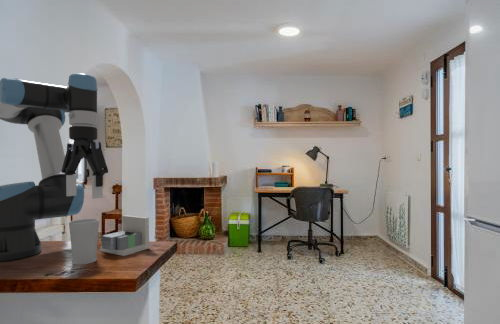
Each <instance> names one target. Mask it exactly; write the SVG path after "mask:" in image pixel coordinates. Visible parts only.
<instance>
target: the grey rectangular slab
mask: <svg viewBox="0 0 500 324" xmlns="http://www.w3.org/2000/svg"><path fill="white" fill-rule="evenodd" d="M116 232H117V233H115V232H112V233H113V234H111V233H107V234H108V235H106V234H103V235H104V236H103V235H101V246H102V248H103V249H108V250H114V249H117V237H121V236H125V235H133V234H134V232H132V231H122V230H121V232H120V231H116Z"/></svg>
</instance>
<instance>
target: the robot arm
mask: <svg viewBox="0 0 500 324" xmlns="http://www.w3.org/2000/svg"><path fill="white" fill-rule="evenodd" d="M67 85H68V86H64V85H56V84H50V83H42V82H36V81H29V80H24V79H19V78H15V77H14V78H11V77H3V78H1V79H0V120H1V121H3V122H6V123H10V124H18V125H27V128H28V129H29V131H30V132H31V133H33V136H34V141H35V147H36V151H37V152H36V153H37V156H38V163H39V169H40V173H41V179H40V181H39V182H38V184H37V185H36V183H35V182H34V181H23V182H22V181H21V182H15V183H8V184H2V185H0V262H5V261H6V262H7V261H13V260H21V259H24V258H29V257H31V256H34V255H37V254H39V253H41V252H42V242H41V240H40V237H39V235H38V233H37V231H36V220H46V219H53V218H63V217H65V218H66V217H69V216H76V215H78V214H79V213H80V212H81V211H82V209H83V206H84V202H85V200H84V199H85V187H84V185H83V184H82V183H81V182H77V172H76V171H77V169H78V167H79V165H80V164H81V163H80V162H81V161H82V160H83V159H85V160H86V161H87V163H88V165H89V167H90V169H91V171H92V174H91V182H92V183H91V187H92V188H91V191H92V197H91V198H92V199H102V198H103V196H104V195H103V194H104V193H103V190H104V189H103V187H104V175H105V174H108V173H109V168H108V166H107V163H106V160H105V156H104V154H103V153H104V152H103V149H102V143H101V141H96V140H98V128H97V126H98V81H97V78H96V77H94V76H93V75H91V74H87V73H72V74H70V75H69V76H68V82H67ZM66 113H68V115H67V116H68V120H69V121H68V124H69V125H70V126H69V128H68V138H69V140H72V141H73V143H71V142H70V143H69V142H68V143H67V144H66V152H65V151H64V147H63V142H62V137H61V133H60V130H61V129H62V127H63V126H64V125H65V123H66Z"/></svg>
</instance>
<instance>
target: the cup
mask: <svg viewBox="0 0 500 324" xmlns="http://www.w3.org/2000/svg"><path fill="white" fill-rule="evenodd" d="M99 225H100V219H99V218H84V219H75V220H71V221H70V220H69V222H68V227H69V235H70V236H69V239H70V246H71V247H70V248H71V257H72V264H73V265H75V266H76V265H80V266H81V265H87V264H91V263H94V262H96V261H97V255H98V253H97V252H98V238H99V237H98V236H99Z"/></svg>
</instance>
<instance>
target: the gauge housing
mask: <svg viewBox="0 0 500 324" xmlns="http://www.w3.org/2000/svg"><path fill="white" fill-rule="evenodd" d="M121 220H122V221H121V222H122V223H121V225H122V226H121V227H122V229H121V231H132V232H134V234H133V235H125V236H121V237H117V249H114V250H108V249H103V248H102V245H101V246H100V252H102V253H107V254H113V255H118V256H122V257H125V256H128V255H132V254H135V253H138V252H141V251H145V250H147V249H150V223H149V222H150V221H149V220H150V218H149V217H147V216H146V217H145V216H136V215H127V214H124V215H122V216H121ZM121 231H119V232H121ZM117 232H118V231H116V232H112V233H110V234H113V233H117ZM108 234H109V233H107V234H103V235H102V236H104V235H108Z"/></svg>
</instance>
